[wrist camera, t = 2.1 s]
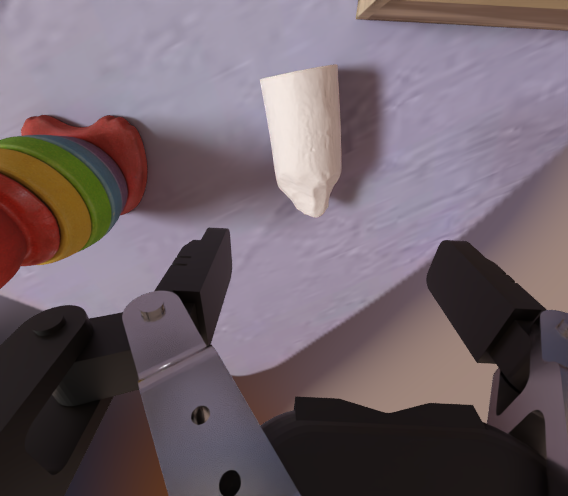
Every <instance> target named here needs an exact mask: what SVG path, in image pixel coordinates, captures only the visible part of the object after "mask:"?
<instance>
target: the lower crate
mask: <svg viewBox="0 0 568 496" xmlns="http://www.w3.org/2000/svg"><path fill="white" fill-rule="evenodd" d="M356 19H364V20H382V21H401V22H419V23H437V24H456V25H474V26H492V27H511V28H529V29H547V30H566V31H568V0H358V7H357V14H356Z"/></svg>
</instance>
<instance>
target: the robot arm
mask: <svg viewBox="0 0 568 496" xmlns="http://www.w3.org/2000/svg"><path fill="white" fill-rule="evenodd" d="M231 273H232V256H231V242H230V232H229V229H226V228H208V229H207V230H206V232H205V234H204V235H203V237H202V239H201V240H192V241H191V242H189V243H188V244H187V245H185V246H184V247H183V248H182V249H181V251H180V252H179V254H178V255H177V258H175V260H174V261H173V263H172V265H171V266H170V268H169V269H168V271H167V272H166V274H165V275H164V277H163V278H162V280H161V282H160V283H159V285H158V286H157V288H156V289H155V291H154V292H149V293H146V294H143V295H141V296H139V297H137V298H136V299H134V300H133V301H131V302H130V303H129V304H128V305H127V306H126V308H125V309H124V311H123V312H122V313H117V314H112V315H106V316H101V317H95V318H90V319H89V318H88V316H87V314H86V312H85V311H84V309H82V308H81V307H78V306H73V305H65V306H59V307H55V308H51V309H48V310H45V311H43V312H41V313H39V314H37V315H35V316H33V317H31V318H30V319H29V320H27V321H26V322H24V323H23V324H22V325H21V326H20V327H19V328H18V329H17V330H16V331H15V332H14V333H13V334H12V335H11V336H10V337H9V338H7V340H5V341H4V342H3V344H1V345H0V496H64V495H65V493H66V491H67V489H68V487H69V485H70V483H71V481H72V479H73V477H74V475H75V473H76V471H77V469H78V467H79V465H80V463H81V461H82V459H83V457H84V455H85V453H86V451H87V449H88V447H89V445H90V443H91V441H92V439H93V437H94V435H95V433H96V430H97V429H98V427H99V425H100V423H101V421H102V419H103V417H104V415H105V412H106V411H107V409H108V406H109V405H110V403H111V401H112V399H113V397H114V396H116V395H120V394H123V393H127V392H131V391H134V390H139V389H140V393H141V396H142V401H143V404H144V408H145V411H146V415H147V419H148V422H149V426H150V429H151V433H152V437H153V441H154V444H155V448H156V451H157V455H158V459H159V462H160V466H161V469H162V473H163V476H164V481H165V484H166V488H167V491H168V495H169V496H568V313H565V312H561V311H556V310H546V309H545V308H544V307H543V306H542V305H541V304H540V303H539V302H537V301H536V300H535V299H534V298H533V297H532V296H531V295H530V294H529V293H528V292H526V291H525V290H524V289H523V288H522V287H521V286H520V285H519V284H518V283H515V281H514V280H513V279H512V278H511V277H510V276H509V275H506V273H505V272H504V271H503V270H502V269H501V268H500V267H498V265H496V264H495V263H494V262H492V261H490V260H488V259H487V258H485V257H484V256H483V255H482V254H481V253H480V252H479V251H478V250H477V249H475V248H474V247H473V246H472V245H471V244H470V243H468V242H467V241H453V240H444V241H442V242H441V243H440V245H439V247H438V249H437V252H436V254H435V256H434V259H433V261H432V264H431V266H430V268H429V271H428V273H427V286H428V289H429V290H430V292H431V293H432V295H433V297H434V298H435V300H436V301H437V303H438V304H439V306H440V307H441V309H442V310H443V312H444V313H445V315H446V316H447V318H448V319H449V321H450V322H451V324H452V325H453V327H454V328H455V330H456V331H457V333H458V334H459V336H460V338H461V339H462V341H463V342H464V344H465V345H466V347H467V348H468V350H469V351H470V353H471V354H472V356H473V357H474V359H475V360H476V362H477V363H492V364H497V366H498V367H499V368H498V369H497V370H496V371H495V373H494V375H493V380H492V388H491V396H490V404H489V412H488V420H487V424H486V423H484V422H482V421H481V419H480V417H479V416H478V414H477V412H476V410H475V408H474V406H473V405H460V404H439V403H428V404H424V405H420V406H416V407H412V408H409V409H404V410H400V411H397V412H393V413H384V412H381V411H377V410H374V409H371V408H368V407H364V406H361V405H358V404H355V403H351V402H348V401H345V400H342V399H334V398H313V397H295V404H294V411H290V412H286V413H283V414H281V415H278V416H276V417H274V418H272V419H270V420H269V421H267V422H265V423H264V424H262V425H261V426H260V425H259V423H258V421H257V420H256V418H255V416H254V414H253V413H252V411H251V409H250V408H249V406H248V404H247V403H246V401H245V399H244V397H243V396H242V394H241V392H240V391H239V389H238V387H237V385H236V384H235V382H234V380H233V378H232V377H231V375H230V373H229V372H228V370H227V368H226V366H225V365H224V363H223V361H222V360H221V358H220V356H219V354H218V353H217V351H216V350H215V348H214V347H213V346H212V345H210V344H211V341H212V338H213V334H214V331H215V328H216V325H217V321H218V318H219V315H220V312H221V308H222V305H223V302H224V298H225V295H226V292H227V289H228V285H229V282H230V279H231Z"/></svg>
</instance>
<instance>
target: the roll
mask: <svg viewBox="0 0 568 496" xmlns="http://www.w3.org/2000/svg"><path fill="white" fill-rule="evenodd" d="M260 83H261V89H262V94H263V99H264V104H265V110H266V116H267V121H268V128H269V133H270V140H271V147H272V153H273V162H274V168H275V175H276V180H277V184H278V187H279V188H280V190H281V191H283V192H284V194H286V195H287V197H288V198H290V199H291V201H292V202H293V203H294V205H295V207H296V208H297V209H298V210H300V211H302V212H303V213H304V214H305V215H306V214H307V215H309V216H311V217H314V218H317V217H320V216H321V215H322V214H323V213H324V212H325V210H326V209H327V208H328V206H329V204H328V201H329V196H330V193H331V191H332V189H333V187H334V185H335V184H336V182H337V181H338V179H339V177H340V173H341V123H340V121H341V120H340V104H339V84H338V66H337V65H336V64H335V65H328V66H322V67H316V68H311V69H305V70H300V71H295V72H290V73H285V74H280V75H276V76H271V77H267V78H263V79H260Z"/></svg>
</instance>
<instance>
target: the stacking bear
mask: <svg viewBox="0 0 568 496" xmlns="http://www.w3.org/2000/svg"><path fill="white" fill-rule="evenodd" d="M21 133H22V136H17V137H10V138H5V139H2V140H0V288H2V287H3V286H4V285H5V284H6V283H7V282H8V281H9V280H10V279H11V278H12V277H13V276H14V275H15V274H16V273H17V271H18V270H19V268H20V266H31V265H44V264H49V263H53V262H56V261H59V260H61V259H64V258H66V257H68V256H71V255H73V254H74V253H76V252H79V251H81V250H83V249H85V248H87V247H89V246H91V245H92V244H94V243H95V242H97V241H98V240H100V239H101V238H102V237H103V236H105V235H106V234H107V233H108V232H109V231H110V230H111V228H112V227H113V226H114V224H115V223H116V222H117V220H118V218H119V216H120V215H123V214H126V213H128V212H130V211H131V210H133V209H134V208H135V207H136V206H137V205H138V204H139V203H140V201H141V199H142V196H143V194H144V191H145V187H146V182H147V160H146V154H145V149H144V146H143V142H142V139H141V137H140V135H139V133H138V131H137V129H136V128H135V127H134V126H132V125H130V124H129V122H128V121H127V120H126V119H124V118H122V117H117V118H116V117H114V116H110V115H107V116H104V117H102V118H101V119H99V120H98V121H97V122H96V123H94V124H93V125H91V126H89V127H73V126H69V125H67V124H65V123H63V122H61V121H59V120H57V119H55V118H53V117H50V116H47V115H41V116H38V117H37V116H34V117H30V118H28V119H26V121H25V123H24V125H23V127H22V130H21Z"/></svg>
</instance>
